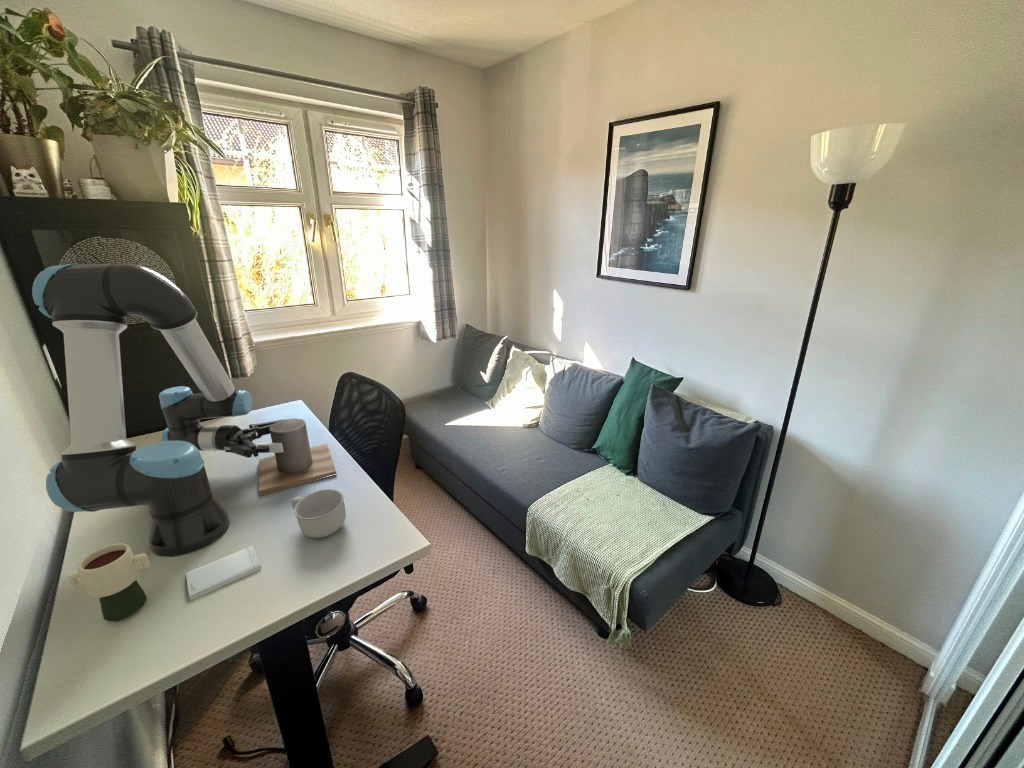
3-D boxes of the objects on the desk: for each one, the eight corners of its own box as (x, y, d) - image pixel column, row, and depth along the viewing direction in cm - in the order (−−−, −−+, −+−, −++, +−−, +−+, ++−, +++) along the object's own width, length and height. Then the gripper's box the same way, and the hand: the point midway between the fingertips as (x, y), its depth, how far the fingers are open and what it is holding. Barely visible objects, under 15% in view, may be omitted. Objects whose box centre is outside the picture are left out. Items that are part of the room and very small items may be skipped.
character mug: (166, 585, 84) (147, 534, 80) (159, 611, 78) (138, 557, 74) (95, 608, 79) (70, 554, 74) (82, 638, 73) (54, 581, 69)
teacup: (357, 524, 102) (353, 496, 99) (318, 551, 93) (312, 522, 90) (321, 506, 108) (316, 480, 106) (282, 530, 100) (276, 503, 97)
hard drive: (188, 596, 80) (260, 564, 88) (185, 572, 86) (252, 544, 94) (190, 602, 81) (261, 570, 88) (187, 578, 87) (254, 549, 94)
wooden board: (336, 475, 123) (335, 471, 122) (259, 495, 113) (258, 490, 113) (327, 447, 139) (326, 443, 139) (259, 463, 130) (258, 459, 129)
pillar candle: (270, 470, 123) (259, 425, 118) (295, 454, 131) (287, 412, 126) (295, 476, 120) (286, 430, 115) (320, 460, 129) (312, 416, 123)
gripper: (248, 430, 135) (313, 429, 136) (195, 471, 112) (274, 469, 112) (243, 409, 133) (309, 408, 133) (188, 446, 109) (268, 445, 110)
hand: (293, 436), depth 123 cm, fingers open, 13 cm apart
